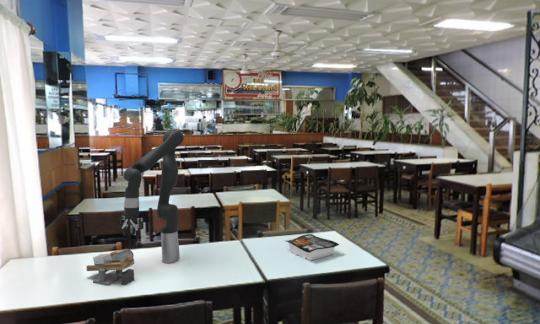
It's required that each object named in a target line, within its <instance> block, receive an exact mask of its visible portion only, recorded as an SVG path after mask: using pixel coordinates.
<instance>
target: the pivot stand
mask: <svg viewBox="0 0 540 324" xmlns="http://www.w3.org/2000/svg"><path fill="white" fill-rule="evenodd" d="M123 270H124V269H123ZM123 270H111V271H110V272H108V273H107V272H106V270H105V269H99V271H98V278H96V279H93V280H92V283H94V284H97V285H102V286H106V287H109V286H111V285H112V284H115V283H117V282H119V281H120V285H125V286H128V285H129V284H131V283H132V282H134V281H135V269H133V268H128V269H126V270H124V271H123Z"/></svg>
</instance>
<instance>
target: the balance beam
mask: <svg viewBox="0 0 540 324" xmlns="http://www.w3.org/2000/svg"><path fill="white" fill-rule="evenodd" d="M133 255H134V254H133ZM133 255H131V256H129V257H127V258H125V259H122V260H112V263H111V264H106V265H94V264H93V265H92V264H89V265H86V271H87V272H99V269H105V270H106V273H107V272H109V271H114V270H115V271H116V270H125V269H127V268H129V267H132V266H133V265H135V259H134V256H133Z"/></svg>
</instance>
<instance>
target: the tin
mask: <svg viewBox="0 0 540 324" xmlns="http://www.w3.org/2000/svg"><path fill="white" fill-rule="evenodd" d="M109 254H111V259H112V260H122V259H125V258H127V257H129V256H131V255H133V257H135V256H134V252H133V251H132V250H131V249H129V248H123V249H120V250H115V251H111V252H110V253H109Z"/></svg>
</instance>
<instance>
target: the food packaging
mask: <svg viewBox="0 0 540 324" xmlns="http://www.w3.org/2000/svg"><path fill="white" fill-rule="evenodd" d="M285 242H286V243H288V247H289V250H290V252H291V253H292V254H294V255H295V256H297V255H298V256H299V257H301V258H302V259H303V260H308V261H309V262H310V261H311V262H312V261H315V260H318V259H321V258H325V257H329V256H331V255H333V253H334V252H335V247H338V246H340V243H338V242H336V241H334V240H330V239H327V238H322V237H319V236H316V235H314V234H312V233H310V234H304V235H300V236H298V237H296V238H293V239H288V240H285Z"/></svg>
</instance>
